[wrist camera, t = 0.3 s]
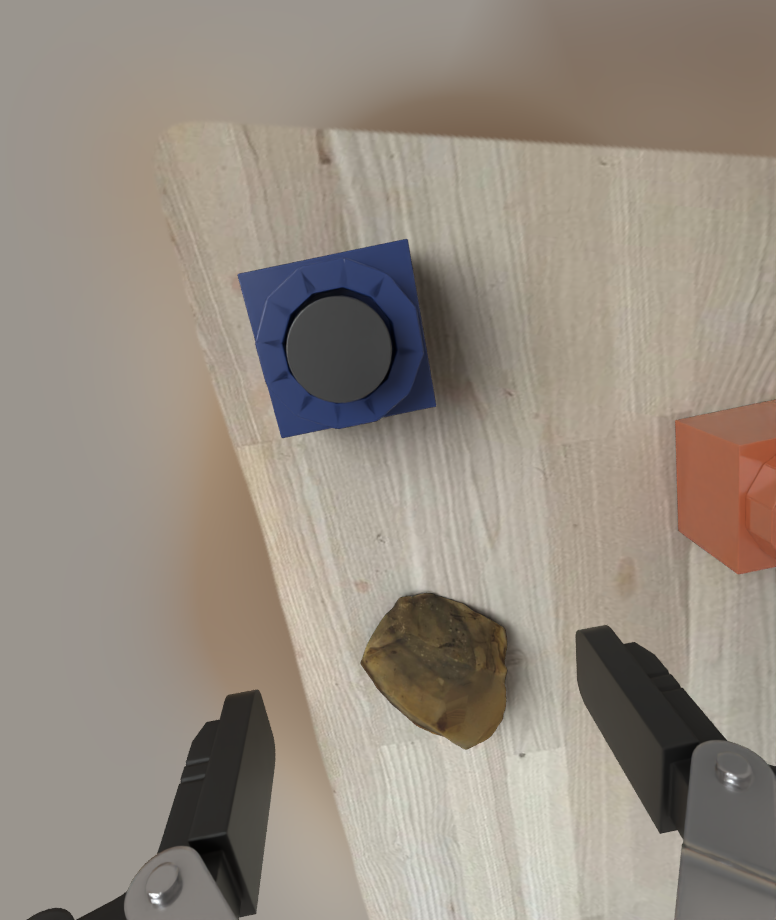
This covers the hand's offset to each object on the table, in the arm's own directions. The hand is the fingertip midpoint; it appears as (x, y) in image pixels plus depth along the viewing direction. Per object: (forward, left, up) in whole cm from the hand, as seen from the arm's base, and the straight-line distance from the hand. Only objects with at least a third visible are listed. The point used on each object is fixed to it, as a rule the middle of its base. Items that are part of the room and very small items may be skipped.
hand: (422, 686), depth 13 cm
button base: (-8, +22, -21) cm, 32 cm away
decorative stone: (+13, +10, -21) cm, 27 cm away
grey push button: (-5, -5, -14) cm, 16 cm away
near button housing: (-5, -5, -21) cm, 22 cm away
